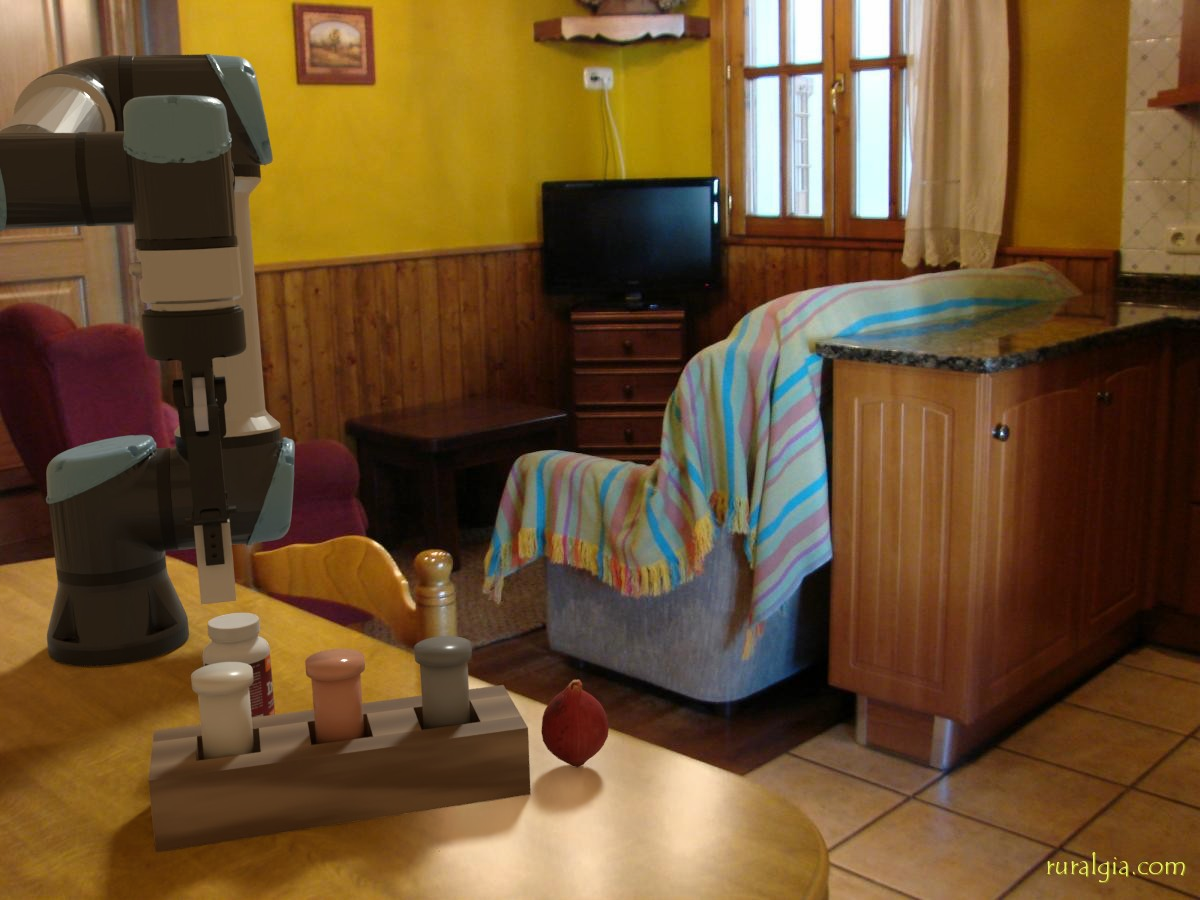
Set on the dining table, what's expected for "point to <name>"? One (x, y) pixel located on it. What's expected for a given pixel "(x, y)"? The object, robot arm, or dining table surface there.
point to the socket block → (335, 771)
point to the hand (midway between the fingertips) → (218, 599)
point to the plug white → (225, 708)
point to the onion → (574, 725)
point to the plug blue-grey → (444, 680)
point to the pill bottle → (243, 655)
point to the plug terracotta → (337, 694)
